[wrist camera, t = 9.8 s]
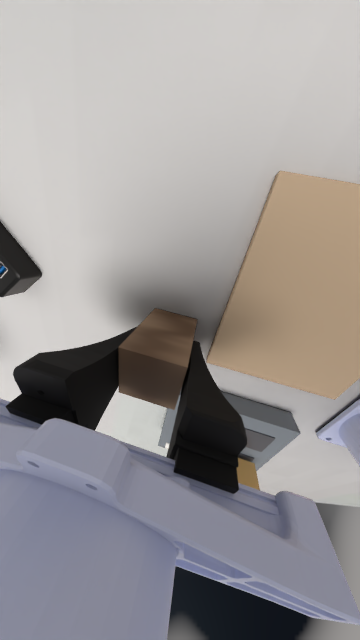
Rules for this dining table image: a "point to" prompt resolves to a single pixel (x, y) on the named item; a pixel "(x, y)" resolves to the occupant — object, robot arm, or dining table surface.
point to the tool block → (157, 358)
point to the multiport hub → (15, 266)
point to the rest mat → (298, 290)
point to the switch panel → (250, 429)
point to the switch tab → (247, 474)
